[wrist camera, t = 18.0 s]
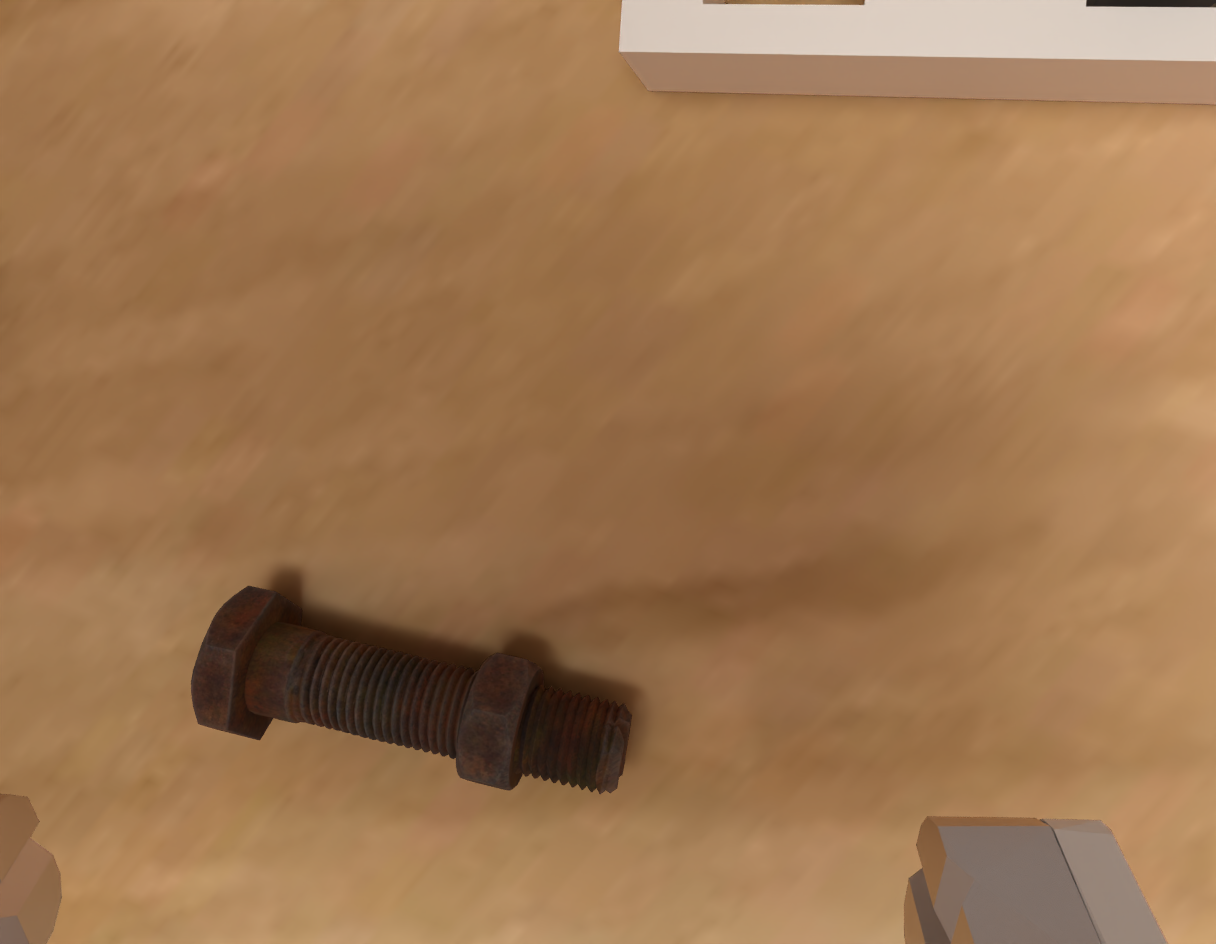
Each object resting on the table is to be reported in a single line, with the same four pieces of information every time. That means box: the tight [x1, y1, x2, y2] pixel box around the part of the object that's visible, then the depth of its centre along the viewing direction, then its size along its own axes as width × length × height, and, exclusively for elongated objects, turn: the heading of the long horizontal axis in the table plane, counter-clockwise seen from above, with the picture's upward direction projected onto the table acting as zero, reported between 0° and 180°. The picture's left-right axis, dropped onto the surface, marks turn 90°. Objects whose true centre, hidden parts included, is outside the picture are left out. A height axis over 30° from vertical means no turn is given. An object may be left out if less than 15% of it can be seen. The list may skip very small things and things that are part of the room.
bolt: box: [191, 586, 632, 794], centre depth 36 cm, size 6×5×15 cm
